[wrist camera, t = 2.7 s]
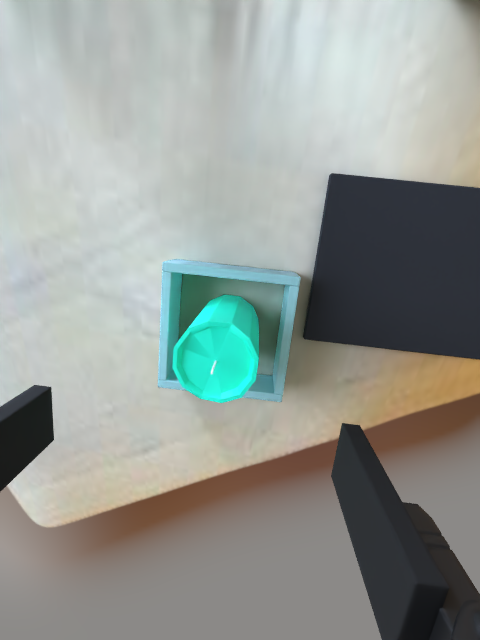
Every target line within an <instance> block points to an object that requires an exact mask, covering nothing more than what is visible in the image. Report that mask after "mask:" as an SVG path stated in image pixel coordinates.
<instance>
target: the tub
mask: <svg viewBox="0 0 480 640" xmlns="http://www.w3.org/2000/svg"><path fill="white" fill-rule="evenodd" d="M162 271H163V272H162V294H161V319H160V345H159V370H158V387H162V388H170V389H178V390H186V389H184V388H183V387H182V386H181V384H180V382H179V380H178V378H177V376H176V374H175V372H174V370H173V368H172V364H173V347H174V346H175V345H176V343H177V342H178V338H179V320H180V302H181V284H182V273H183V274H192V275H201V276H210V277H219V278H228V279H237V280H246V281H256V282H265V283H274V284H283V285H285V289H284V296H283V303H282V310H281V318H280V325H279V332H278V339H277V346H276V353H275V360H274V367H273V375H272V376H271V375H262V374H257V375H256V381H255V382H254V383H253V384H252V386H251V387H250V388H249V389H248V391H247V392H246V393H245V394H244V395H243V397H244V398H252V399H260V400H268V401H276V402H282V396H283V390H284V384H285V377H286V370H287V364H288V357H289V351H290V344H291V338H292V331H293V324H294V318H295V311H296V305H297V298H298V292H299V285H300V276H299V275H298V274H296V273H295V272H289V271H280V270H271V269H262V268H253V267H244V266H235V265H225V264H216V263H207V262H198V261H189V260H180V259H174V260H169V261H165V262H163V267H162ZM186 391H187V390H186Z"/></svg>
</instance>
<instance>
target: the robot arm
mask: <svg viewBox="0 0 480 640" xmlns="http://www.w3.org/2000/svg"><path fill="white" fill-rule="evenodd" d="M53 440H54V433H53V413H52V393H51V387H47V386H39V385H34V386H32V387H31V388H29V389H28V390H26V391H25V392H23V393H21V394H20V395H18V396H17V397H15V398H14V399H12V400H10V401H9V402H7V403H6V404H4V405H3V406H1V407H0V491H1V490H3V489H4V488H5V487H6V486H7V485H8V484H9V483H10V482H11V481H12V480H13V479H14V478H15V477H16V476H17V475H18V474H19V473H20V472H21V471H22V470H23V469H24V468H25V467H26V466H27V465H28V464H29V463H31V462H32V461H33V460H34V459H35V458H36V457H37V456H38V455H39V454H40V453H41V452H42V451H43V450H44V449H45V448H46V447H47V446H48V445H49V444H50V443H51V442H52V441H53ZM331 477H332V480H333V483H334V486H335V489H336V493H337V496H338V499H339V503H340V506H341V509H342V512H343V515H344V519H345V521H346V525H347V528H348V532H349V534H350V538H351V541H352V544H353V548H354V551H355V554H356V557H357V561H358V564H359V567H360V570H361V574H362V576H363V580H364V583H365V586H366V589H367V592H368V596H369V599H370V602H371V606H372V609H373V612H374V615H375V619H376V621H377V625H378V628H379V632H380V634H381V638H382V640H480V594H479V593H478V591H477V589H476V588H475V586H474V585H473V583H472V581H471V580H470V578H469V577H468V575H467V574H466V572H465V570H464V569H463V567H462V565H461V564H460V562H459V561H458V559H457V557H456V556H455V554H454V553H453V551H452V550H450V548H449V545H448V543H447V542H446V540H445V539H444V537H443V536H442V535H441V532H440V530H439V529H438V527H437V526H436V524H435V522H434V521H433V520H432V518H431V517H430V516H429V515H428V514H427V513H426V512H425V511H424V510H423V509H422V508H421V507H419V505H418V504H412V503H403V502H402V501H401V499H400V497H399V496H398V494H397V492H396V490H395V489H394V487H393V485H392V483H391V481H390V479H389V477H388V476H387V474H386V472H385V470H384V468H383V467H382V465H381V463H380V461H379V459H378V458H377V456H376V454H375V452H374V450H373V448H372V447H371V445H370V443H369V441H368V439H367V438H366V436H365V434H364V432H363V430H362V429H361V427H360V425H353V424H345V423H342V427H341V431H340V436H339V441H338V446H337V451H336V456H335V460H334V465H333V470H332V475H331Z"/></svg>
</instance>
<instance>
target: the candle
mask: <svg viewBox="0 0 480 640" xmlns="http://www.w3.org/2000/svg"><path fill="white" fill-rule="evenodd" d="M258 362H259V319H258V317H257V315H256V312H255V310H254V307H253V306H252V305H251V304H250V303H248V302H247V301H246V300H244V299H243V298H242V297H240V296H233V295H226V294H224V295H222V296H219V297H217V298H214V299H212V300H210V301H209V302H208V304H207V305H206V306H205V307H204V309H203V310H202V311H201V312H200V314H199V315H198V316H197V317H196V319H195V320H194V321H193V323H192V324H191V325H190V326H189V328H188V329H187V330H186V331H185V333H184V334H183V335H182V337H181V338H180V339H179V341H178V342H177V343H176V345H175V346H174V347H173V364H172V368H173V370H174V372H175V374H176V376H177V378H178V380H179V382H180V384H181V386H182V387H183V388H184V389H186V390H187V391H189V392H191V393H192V394H194V395H195V396H197V397H198V398H200V399H204V400H209V401H214V402H219V403H223V402H227V401H231V400H235V399H238V398H242V397H243V395H244V394H245V393H246V392H247V391H248V389H249V388H250V387H251V386H252V384H253V383H254V382H255V381H256V375H257V369H258Z"/></svg>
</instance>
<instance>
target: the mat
mask: <svg viewBox="0 0 480 640" xmlns="http://www.w3.org/2000/svg"><path fill="white" fill-rule="evenodd" d="M303 337H304V339H307V340H315V341H324V342H333V343H341V344H350V345H359V346H367V347H376V348H385V349H393V350H402V351H410V352H419V353H428V354H436V355H445V356H454V357H462V358H471V359H480V188H474V187H464V186H454V185H444V184H434V183H424V182H414V181H404V180H394V179H384V178H374V177H364V176H354V175H343V174H333V173H332V174H330V176H329V181H328V187H327V193H326V200H325V206H324V212H323V218H322V224H321V230H320V237H319V243H318V249H317V255H316V261H315V267H314V274H313V280H312V286H311V292H310V298H309V304H308V311H307V317H306V323H305V329H304V335H303Z"/></svg>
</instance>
